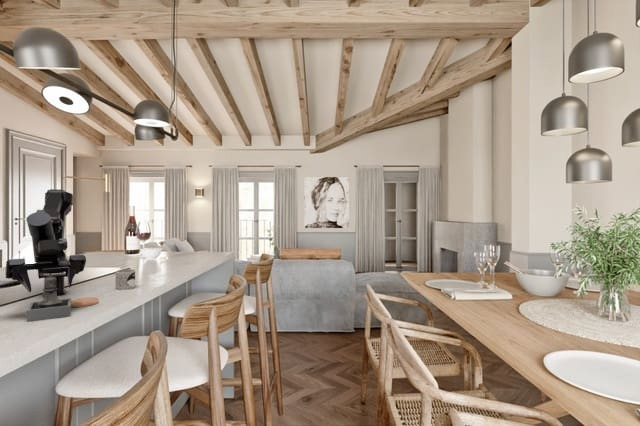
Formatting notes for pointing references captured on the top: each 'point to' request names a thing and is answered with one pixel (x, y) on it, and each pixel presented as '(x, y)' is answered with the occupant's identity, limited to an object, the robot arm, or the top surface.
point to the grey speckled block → (125, 279)
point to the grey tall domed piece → (50, 293)
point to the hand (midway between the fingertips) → (50, 288)
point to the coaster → (84, 302)
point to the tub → (48, 311)
